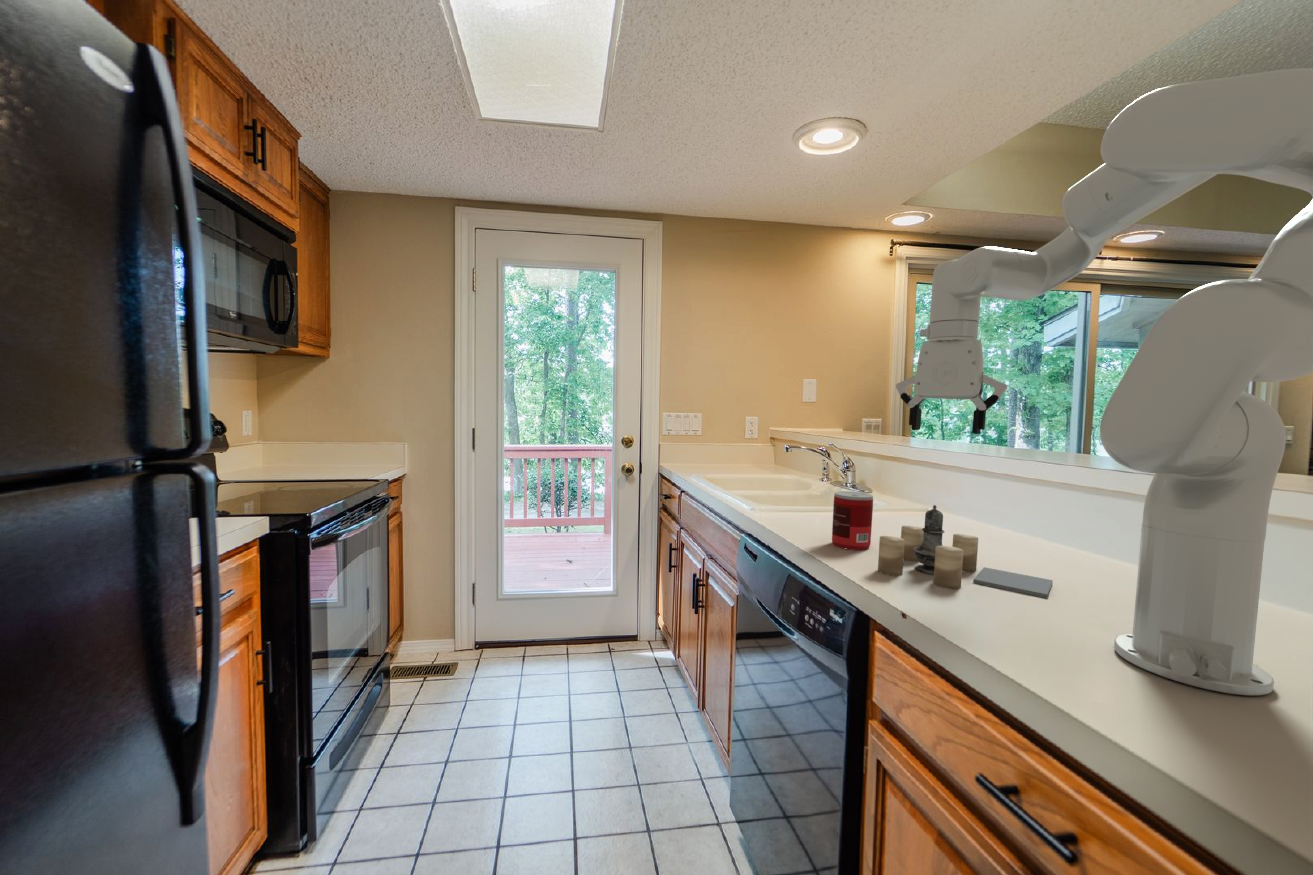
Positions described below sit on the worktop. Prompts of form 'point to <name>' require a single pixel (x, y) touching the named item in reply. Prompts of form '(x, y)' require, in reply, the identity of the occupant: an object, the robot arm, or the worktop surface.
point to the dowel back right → (967, 550)
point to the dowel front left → (891, 555)
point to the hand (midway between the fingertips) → (944, 431)
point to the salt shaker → (930, 541)
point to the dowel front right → (948, 567)
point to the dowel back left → (911, 541)
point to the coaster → (1014, 582)
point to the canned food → (852, 520)
